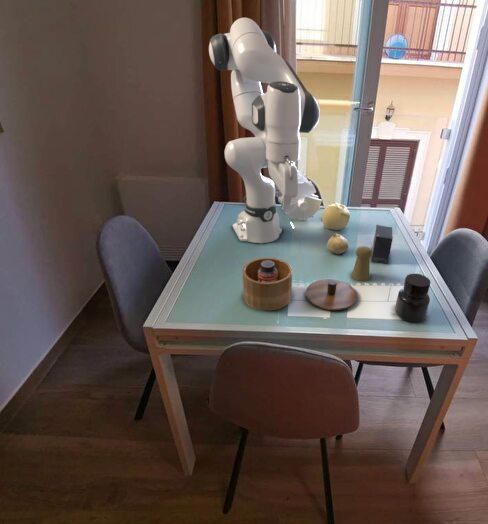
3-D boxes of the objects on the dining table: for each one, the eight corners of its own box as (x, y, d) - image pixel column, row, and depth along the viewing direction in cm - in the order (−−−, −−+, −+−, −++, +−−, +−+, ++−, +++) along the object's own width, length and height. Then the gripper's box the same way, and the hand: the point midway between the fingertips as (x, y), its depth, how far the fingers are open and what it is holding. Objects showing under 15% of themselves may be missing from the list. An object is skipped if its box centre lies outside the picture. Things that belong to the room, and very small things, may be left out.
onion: (347, 247, 140) (349, 231, 137) (347, 257, 133) (349, 240, 130) (327, 245, 141) (329, 229, 138) (325, 255, 134) (327, 238, 131)
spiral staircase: (293, 231, 160) (281, 208, 180) (328, 213, 160) (313, 192, 180) (276, 198, 149) (266, 177, 169) (314, 179, 149) (299, 160, 169)
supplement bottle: (258, 289, 113) (257, 258, 107) (277, 289, 113) (277, 258, 107) (258, 300, 107) (257, 268, 102) (277, 300, 108) (278, 268, 102)
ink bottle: (418, 303, 110) (427, 270, 104) (431, 322, 103) (441, 287, 97) (388, 305, 109) (395, 272, 103) (399, 324, 101) (407, 289, 95)
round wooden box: (236, 291, 112) (234, 265, 107) (276, 278, 119) (276, 253, 115) (257, 316, 102) (256, 289, 97) (300, 301, 109) (301, 274, 104)
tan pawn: (358, 282, 119) (362, 254, 114) (348, 273, 124) (351, 245, 118) (372, 278, 122) (377, 250, 116) (362, 270, 126) (366, 242, 121)
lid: (296, 290, 114) (296, 277, 111) (335, 277, 121) (336, 264, 119) (326, 318, 102) (327, 303, 100) (366, 301, 110) (369, 287, 108)
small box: (388, 264, 130) (393, 238, 125) (370, 261, 131) (374, 236, 126) (388, 250, 139) (393, 226, 134) (371, 248, 140) (375, 224, 135)
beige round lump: (351, 232, 152) (354, 208, 147) (324, 233, 151) (326, 209, 145) (344, 221, 162) (347, 198, 157) (318, 222, 160) (320, 199, 155)
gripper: (305, 162, 85) (302, 215, 92) (285, 143, 102) (284, 189, 109) (279, 162, 84) (279, 217, 91) (263, 143, 101) (264, 190, 108)
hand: (282, 202), depth 100 cm, fingers open, 8 cm apart
